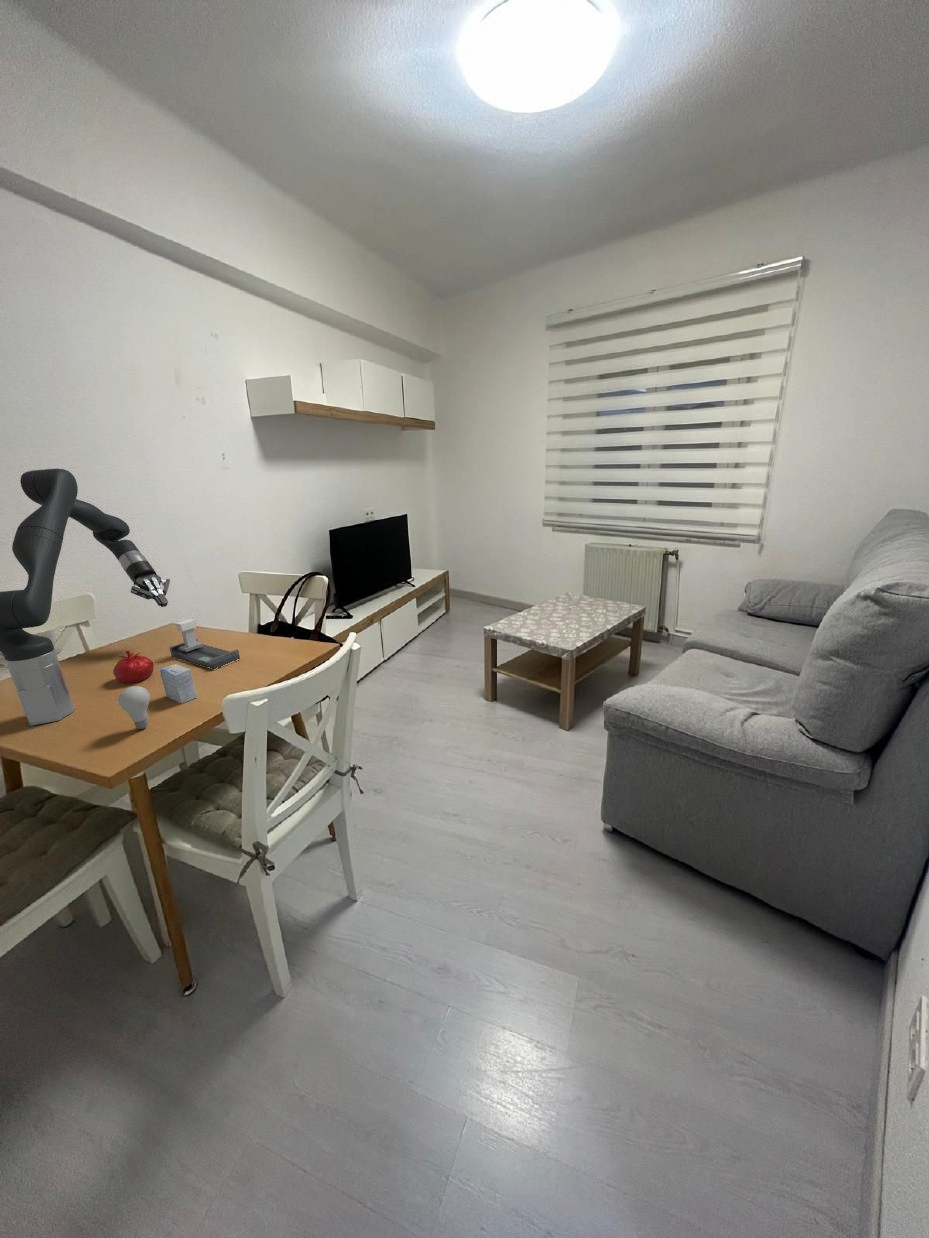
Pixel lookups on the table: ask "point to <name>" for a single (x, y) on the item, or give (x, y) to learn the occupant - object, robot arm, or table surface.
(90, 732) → the table surface
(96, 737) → the table surface
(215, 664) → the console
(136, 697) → the lightbulb
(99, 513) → the robot arm
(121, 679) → the pomegranate
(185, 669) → the medicine box
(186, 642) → the fader
